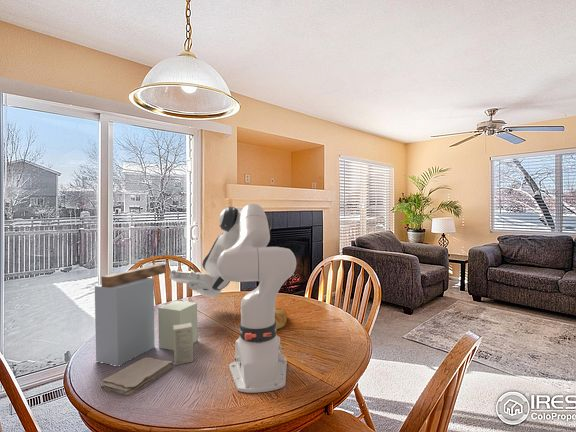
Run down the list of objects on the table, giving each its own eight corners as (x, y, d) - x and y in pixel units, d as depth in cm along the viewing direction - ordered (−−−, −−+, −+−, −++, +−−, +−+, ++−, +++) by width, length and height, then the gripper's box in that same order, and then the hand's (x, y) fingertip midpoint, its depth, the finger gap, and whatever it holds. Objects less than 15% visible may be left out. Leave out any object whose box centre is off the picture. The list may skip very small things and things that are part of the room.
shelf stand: (134, 343, 120) (133, 276, 119) (154, 346, 116) (153, 278, 116) (96, 362, 105) (94, 286, 104) (117, 367, 101) (116, 288, 101)
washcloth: (97, 390, 89) (97, 379, 89) (146, 362, 106) (146, 353, 106) (128, 399, 85) (128, 388, 84) (174, 368, 101) (174, 358, 101)
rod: (159, 272, 128) (159, 263, 128) (165, 272, 126) (165, 264, 126) (101, 286, 103) (101, 276, 103) (109, 287, 102) (109, 277, 102)
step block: (177, 337, 125) (176, 300, 125) (197, 340, 121) (197, 302, 121) (158, 347, 116) (158, 307, 115) (180, 351, 112) (179, 310, 112)
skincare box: (192, 356, 108) (192, 322, 108) (193, 362, 104) (193, 326, 104) (173, 359, 106) (173, 324, 106) (173, 365, 102) (173, 329, 102)
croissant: (273, 342, 127) (281, 326, 126) (253, 329, 130) (261, 313, 129) (289, 323, 148) (296, 309, 146) (271, 312, 150) (278, 298, 149)
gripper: (182, 274, 152) (164, 264, 140) (217, 277, 144) (201, 267, 133) (178, 286, 149) (159, 277, 138) (213, 290, 142) (197, 281, 130)
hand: (180, 272), depth 135 cm, fingers open, 8 cm apart
